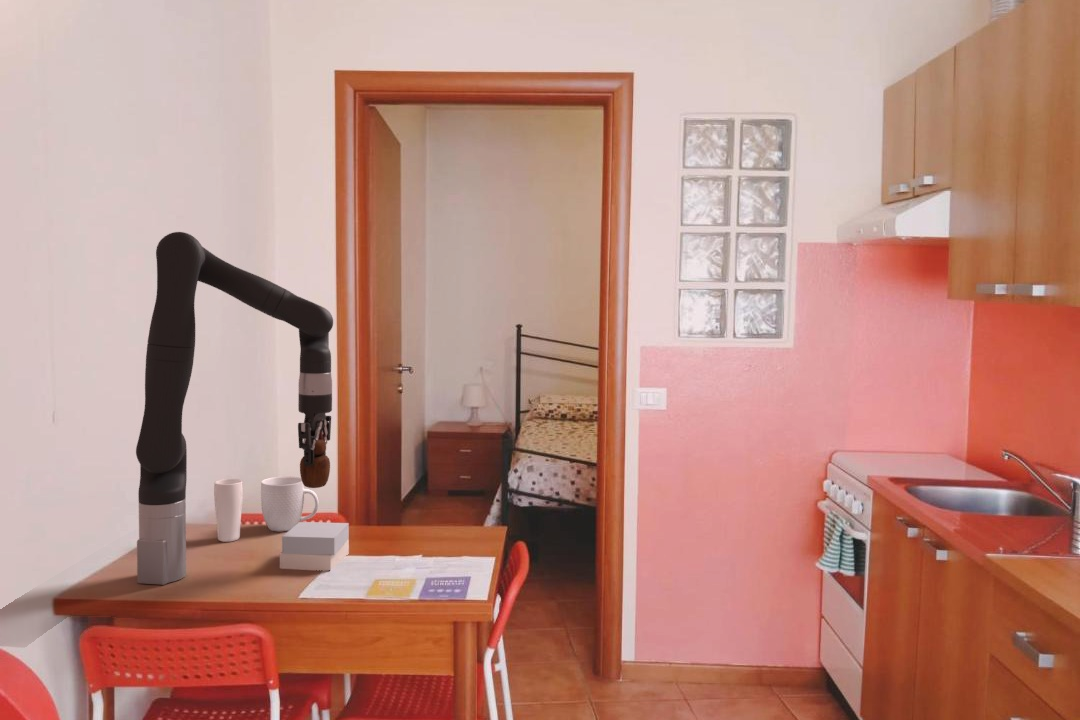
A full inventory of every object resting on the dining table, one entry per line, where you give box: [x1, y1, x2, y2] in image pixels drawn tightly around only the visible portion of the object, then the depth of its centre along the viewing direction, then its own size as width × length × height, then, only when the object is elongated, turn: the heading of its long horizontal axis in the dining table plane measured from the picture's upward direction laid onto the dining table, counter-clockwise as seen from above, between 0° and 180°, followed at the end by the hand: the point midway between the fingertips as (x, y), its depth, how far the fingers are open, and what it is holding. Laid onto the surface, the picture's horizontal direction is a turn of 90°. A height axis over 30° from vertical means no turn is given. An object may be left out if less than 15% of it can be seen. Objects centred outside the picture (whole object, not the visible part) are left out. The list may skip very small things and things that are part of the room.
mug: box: [260, 475, 320, 533], centre depth 206 cm, size 15×11×13 cm
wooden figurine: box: [299, 432, 331, 489], centre depth 179 cm, size 7×6×15 cm
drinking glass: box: [213, 478, 244, 543], centre depth 195 cm, size 7×7×15 cm
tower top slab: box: [281, 521, 350, 555], centre depth 181 cm, size 12×12×4 cm
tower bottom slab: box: [279, 539, 350, 572], centre depth 181 cm, size 12×12×4 cm
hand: (314, 462), depth 179 cm, fingers closed on wooden figurine, 6 cm apart
